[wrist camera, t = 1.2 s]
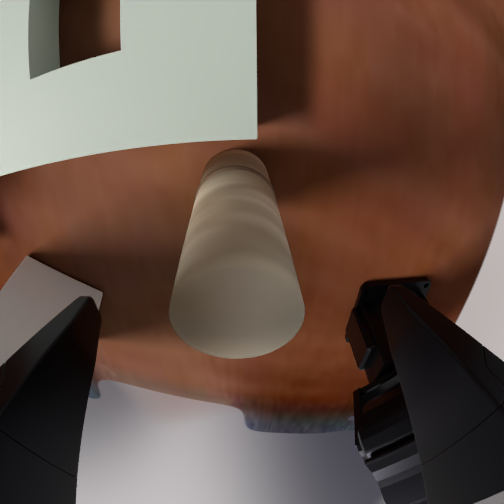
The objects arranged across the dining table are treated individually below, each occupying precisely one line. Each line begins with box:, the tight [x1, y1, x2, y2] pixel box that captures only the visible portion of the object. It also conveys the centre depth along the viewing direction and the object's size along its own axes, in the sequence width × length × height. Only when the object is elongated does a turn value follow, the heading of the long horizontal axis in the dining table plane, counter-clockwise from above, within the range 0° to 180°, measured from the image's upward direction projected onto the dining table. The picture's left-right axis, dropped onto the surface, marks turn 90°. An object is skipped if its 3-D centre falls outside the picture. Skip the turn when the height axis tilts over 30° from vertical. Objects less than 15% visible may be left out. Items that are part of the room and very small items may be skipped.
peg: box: [169, 149, 305, 359], centre depth 12 cm, size 4×4×10 cm
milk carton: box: [0, 256, 103, 366], centre depth 13 cm, size 7×7×19 cm
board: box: [0, 0, 257, 176], centre depth 9 cm, size 16×14×3 cm
